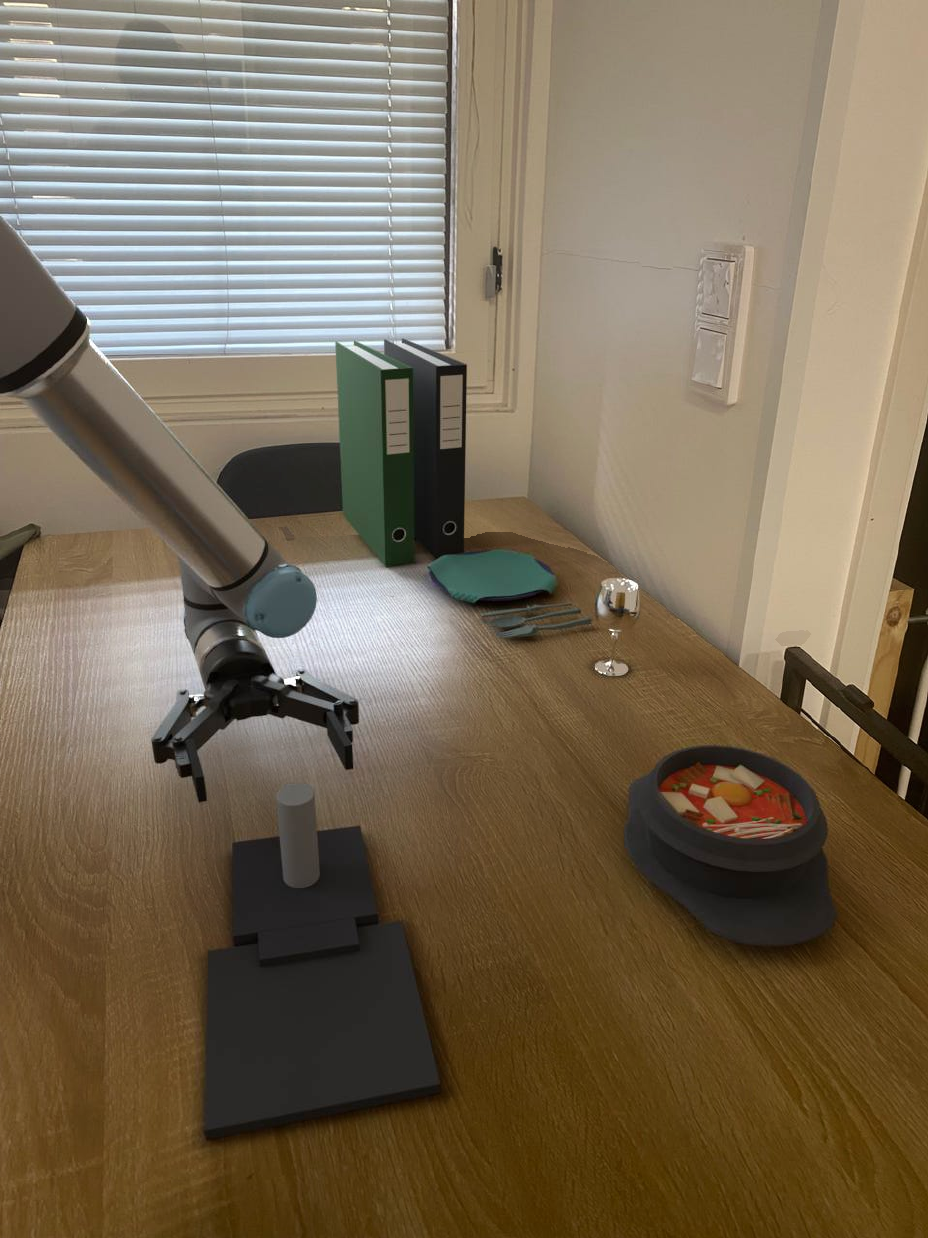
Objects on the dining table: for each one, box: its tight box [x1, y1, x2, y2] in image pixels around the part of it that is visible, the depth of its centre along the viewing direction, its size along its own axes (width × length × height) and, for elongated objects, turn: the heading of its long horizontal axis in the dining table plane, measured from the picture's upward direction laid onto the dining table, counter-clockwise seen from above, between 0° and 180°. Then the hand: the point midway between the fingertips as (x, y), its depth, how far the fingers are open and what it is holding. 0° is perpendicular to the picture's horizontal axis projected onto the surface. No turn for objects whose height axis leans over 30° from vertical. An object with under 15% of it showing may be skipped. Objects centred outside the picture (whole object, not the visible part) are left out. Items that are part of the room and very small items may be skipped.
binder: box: [335, 338, 468, 568], centre depth 157 cm, size 27×15×32 cm, turn 23°
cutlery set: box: [427, 548, 593, 639], centre depth 140 cm, size 20×30×2 cm, turn 19°
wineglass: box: [594, 577, 641, 677], centre depth 118 cm, size 6×6×12 cm
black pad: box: [203, 919, 441, 1141], centre depth 69 cm, size 16×16×1 cm
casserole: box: [623, 744, 838, 947], centre depth 84 cm, size 25×19×8 cm
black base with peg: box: [231, 782, 380, 967], centre depth 78 cm, size 12×15×11 cm
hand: (277, 773), depth 83 cm, fingers open, 13 cm apart
